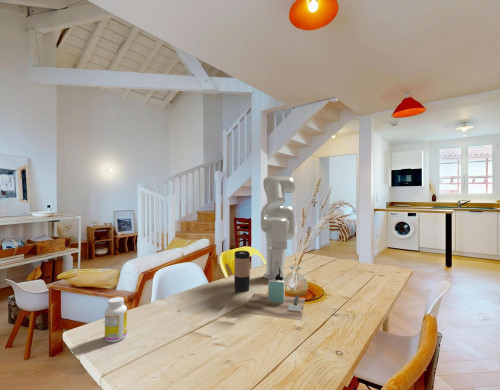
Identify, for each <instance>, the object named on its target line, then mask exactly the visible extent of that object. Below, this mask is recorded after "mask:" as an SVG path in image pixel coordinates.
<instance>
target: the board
mask: <svg viewBox="0 0 500 390" xmlns="http://www.w3.org/2000/svg"><path fill="white" fill-rule="evenodd" d="M294 300H295V296H287V295H285V302H284V303H279V302H270V301H268V293H257V292H254V293H253V294H251V296H250V298H249V299H248V301H247V302H246V303H245V305H244V306H243V308H242V309H241V310H240V313H242V314H250V315H251V314H252V315H258V316H265V317H273V318H282V319H288V320H296V321H297V320H298V321H302V318H303V312H304V306H305V301H306V298H305V297H299V299H298V304H297V305H301V310H300V312H292V311H287V310H288V307H289V304H294Z"/></svg>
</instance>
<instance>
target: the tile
mask: <svg viewBox="0 0 500 390" xmlns="http://www.w3.org/2000/svg"><path fill="white" fill-rule="evenodd" d="M267 280H268V281H267V282H268V283H267V285H268V287H267V290H268V291H267V294H268V301H270V302H279V303H284V302H285V296H286V295H285V293H286V292H285V291H286V290H285V285H286V282H285V281H286V280H283V281H280V280H271V279H267Z"/></svg>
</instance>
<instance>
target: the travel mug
mask: <svg viewBox="0 0 500 390" xmlns="http://www.w3.org/2000/svg"><path fill="white" fill-rule="evenodd" d="M250 253H251V252H249V251H247V250H237V251H236V250H235V252H234V267H233V270H234V274H233V275H234V277H233V278H234V294H235V293H236V294H237V293H247V292H248V291H250V282H251V281H250V278H251V276H250V273H251V272H250V271H251V269H250V268H251V267H250V266H251V265H250V261H251V259H250V258H251V257H250V255H251V254H250Z"/></svg>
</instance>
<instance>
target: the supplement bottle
mask: <svg viewBox="0 0 500 390" xmlns="http://www.w3.org/2000/svg"><path fill="white" fill-rule="evenodd" d="M107 302H108V303H107V305H108V307H107V308H106V309H105V311H104V340H105V341H106V343H116V342H120V341H123V340H124V339H125V338H126V337H127V335H128V307H127V305H126V304H125V303H124V302H125V298H124V297H122V296H116V297H112V298H110V299H108V301H107Z"/></svg>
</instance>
